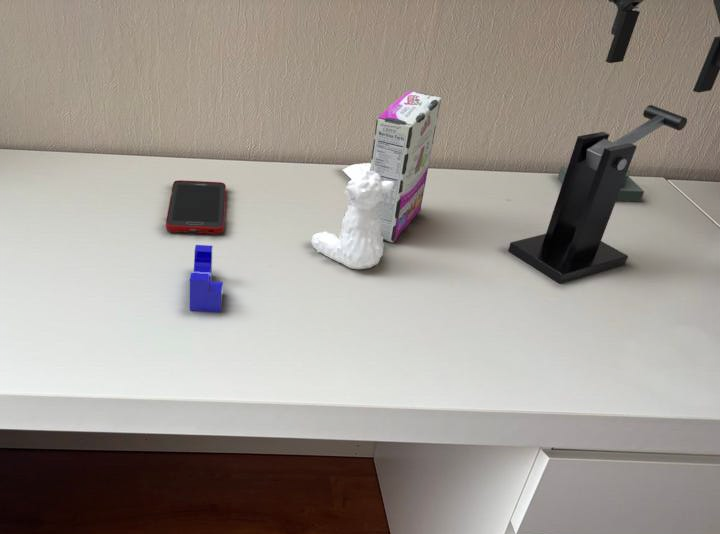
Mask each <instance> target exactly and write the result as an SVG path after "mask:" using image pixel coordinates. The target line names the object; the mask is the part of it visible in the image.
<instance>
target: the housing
mask: <svg viewBox="0 0 720 534" xmlns="http://www.w3.org/2000/svg"><path fill="white" fill-rule="evenodd" d="M567 168H568V167H560V168H559V172H558V174H557V179H558V180H559V181H560V183H563V180H564V177H565V174H566V171H567ZM630 173H631V171H630V170H629V169H628V171H627V173H626V176H625V179H624V181H623V184H622V187H621V189H620V192H619V195H618V197H617V200H616V202H634V203H635V202H637V203H641V201H642V198H643V196H644V193H645V191H644V189H643V188H642V187H640V186H639V184H637V183H636V182H635V181H634V180H633V179H632V178H631V177H630Z"/></svg>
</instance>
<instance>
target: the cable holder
mask: <svg viewBox="0 0 720 534" xmlns="http://www.w3.org/2000/svg"><path fill="white" fill-rule="evenodd" d="M213 247H214V246H213V245H207V244H206V245H205V244H195V246H194V257H193V258H194V260H193V272H190V277H189V311H193V312H195V311H196V312H210V313H212V312H213V313H221V312H222V304H223V292H224V290H223V289H224V282H223V281H212V276H213Z"/></svg>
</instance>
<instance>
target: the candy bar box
mask: <svg viewBox="0 0 720 534" xmlns="http://www.w3.org/2000/svg"><path fill="white" fill-rule="evenodd" d="M441 102H442V97H441V96H435V95H430V94H427V93H423V92H420V93H419V92H418V91H411V90H410V91H409V90H408V91H406V92H404V93H403V95H401V96H400V97H399V98H397V100H395V101H394V102H393V103H392V104H391V105H390V106H388V107H387V108H386V109H385V110H384V111H382V112H381V113H380V114H379V115H377V117H376V122H375V129H374V136H373V137H374V138H373V143H372V151H371V159H370V163H371V166H370V171H371V170H372V171H375V172H376V173H379V175H381V181H393V183H394V185H393V188H392V189H391V191H390V192H387V193H383V196H382V199H381V201H380V202H379V203H378V205H376V206H377V209H378V212H379V213H380V219H381V229H380V230H381V232H382V233H381V236H382V237H383V242H388V243H391V244H393V243H395V241H396V240H397V239H398V238H399V236H401V234H402V233H403V232H404V231H405V229H406V228H407V227H408V226H409V225H410V224H411V222H413V220H414V219H415V218H416V216H417V215H418V214H419V213H420V212H421V210H422V204H423V198H424V193H425V187H426V181H427V177H428V171H429V166H430V161H431V155H432V150H433V144H434V139H435V133H436V129H437V122H438V118H439V111H440V107H441Z"/></svg>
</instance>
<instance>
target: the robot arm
mask: <svg viewBox="0 0 720 534" xmlns="http://www.w3.org/2000/svg"><path fill="white" fill-rule="evenodd" d="M644 1H645V0H608V2H609V3H613V4H614V5H615V6H616V8H617V11H616V14H615V18H614V21H613V24H612V26H611V29H610V30H611V32H610V33H611V34H610V35H612V36H613V38H612V41H611V44H610V47H609V50H608V53H607V56H606V59H605V62H606V63H609V64H613V63H614V64H615V63H619V62H620V63H621V62H624V59H625V57H626V54H627V50H628V47H629V44H630V41H631V39H632V37H633V34H634V30H635V27H636V24H637V22H638V18H639V16H640V12H641V11H639V10H634V9H639V5H640V4H641V3H643V2H644ZM712 2H713V5H714V10H715V12H716V13H715V14H716V16H717V19H718V23H719V25H720V0H712ZM719 72H720V36H719V35H718V36H714V37H713V40H712V43H711V45H710V48H709V49H708V52H707V55H706V58H705V60H704V62H703V65H702V68H701V69H700V72H699V74H698V77H697V79H696V82H695V85H694V87H693V90H692V92H695V93H704V92H711V91H712V89H713V87H714V85H715V82H716V80H717V78H718V75H719V74H720V73H719Z"/></svg>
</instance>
